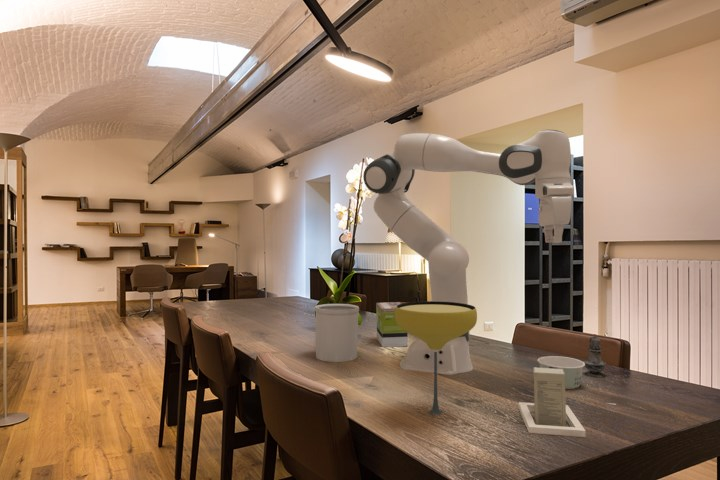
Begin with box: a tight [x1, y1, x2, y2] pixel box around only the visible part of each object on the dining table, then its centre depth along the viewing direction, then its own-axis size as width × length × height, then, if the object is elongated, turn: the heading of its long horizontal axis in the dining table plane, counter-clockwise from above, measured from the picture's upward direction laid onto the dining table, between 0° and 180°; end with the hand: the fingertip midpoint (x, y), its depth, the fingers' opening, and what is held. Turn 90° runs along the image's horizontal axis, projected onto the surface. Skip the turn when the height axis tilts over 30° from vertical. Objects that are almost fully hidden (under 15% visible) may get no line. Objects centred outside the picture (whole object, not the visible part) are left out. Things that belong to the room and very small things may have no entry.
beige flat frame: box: [518, 401, 587, 438], centre depth 101 cm, size 11×14×2 cm
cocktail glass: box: [395, 300, 478, 415], centre depth 107 cm, size 18×18×25 cm
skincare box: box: [532, 366, 567, 427], centre depth 101 cm, size 6×4×12 cm
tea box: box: [375, 301, 409, 348], centre depth 183 cm, size 15×10×15 cm
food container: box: [537, 355, 586, 390], centre depth 130 cm, size 12×12×6 cm
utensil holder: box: [314, 303, 360, 363], centre depth 159 cm, size 15×15×18 cm
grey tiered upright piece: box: [583, 333, 607, 378], centre depth 140 cm, size 6×6×12 cm
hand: (553, 242), depth 127 cm, fingers open, 8 cm apart
